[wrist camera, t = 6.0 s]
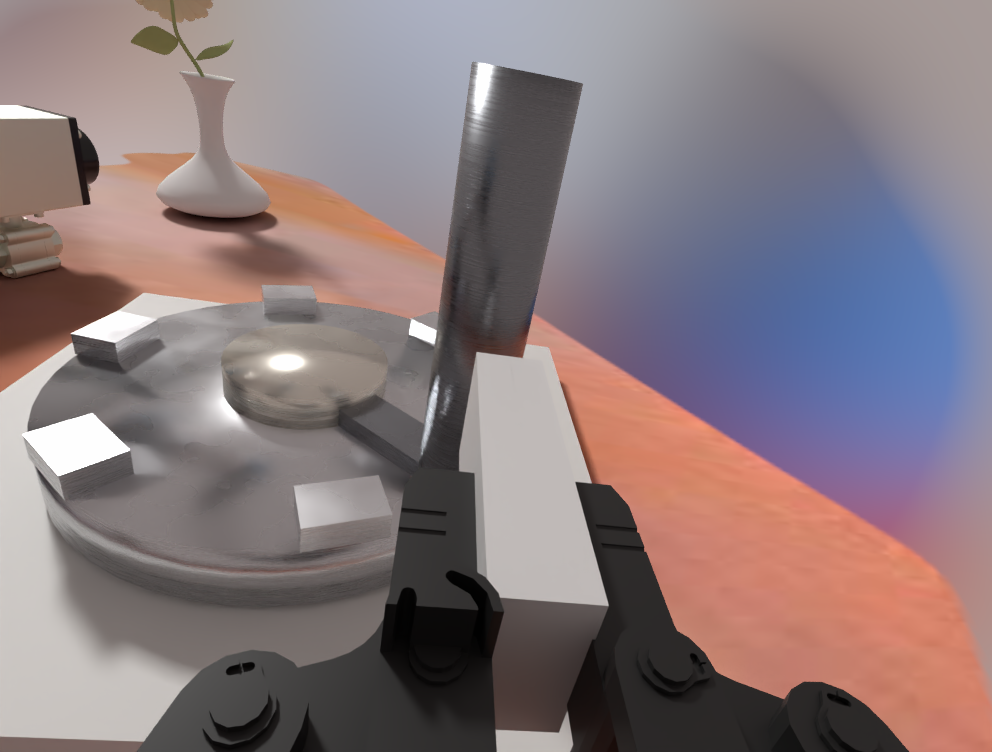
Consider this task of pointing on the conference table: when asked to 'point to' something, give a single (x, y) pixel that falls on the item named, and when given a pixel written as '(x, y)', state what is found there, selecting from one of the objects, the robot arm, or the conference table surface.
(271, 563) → the round disc with peg
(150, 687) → the base plate
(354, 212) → the conference table surface
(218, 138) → the flower in vase
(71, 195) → the pneumatic valve
